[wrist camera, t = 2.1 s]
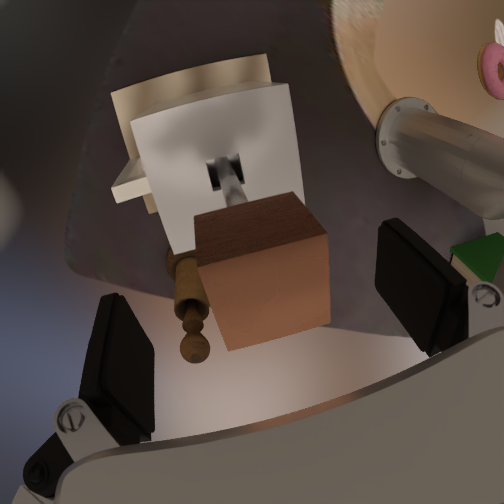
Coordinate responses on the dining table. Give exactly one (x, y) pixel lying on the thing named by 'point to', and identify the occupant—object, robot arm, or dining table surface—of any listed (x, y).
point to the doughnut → (492, 69)
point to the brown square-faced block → (261, 262)
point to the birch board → (182, 93)
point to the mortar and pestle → (189, 304)
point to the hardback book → (479, 258)
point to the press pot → (211, 152)
